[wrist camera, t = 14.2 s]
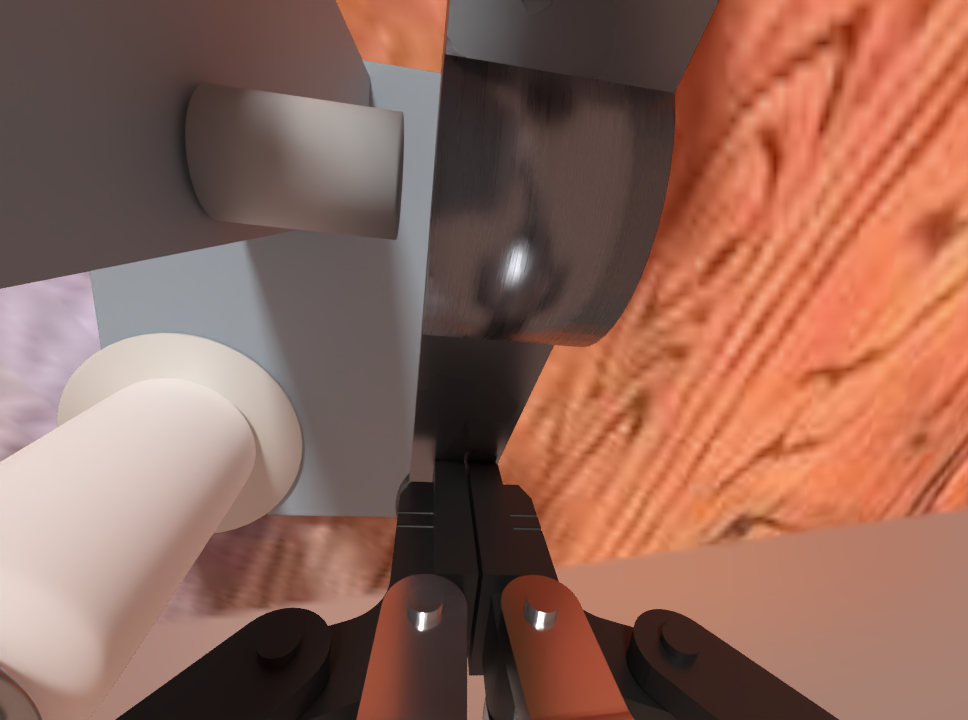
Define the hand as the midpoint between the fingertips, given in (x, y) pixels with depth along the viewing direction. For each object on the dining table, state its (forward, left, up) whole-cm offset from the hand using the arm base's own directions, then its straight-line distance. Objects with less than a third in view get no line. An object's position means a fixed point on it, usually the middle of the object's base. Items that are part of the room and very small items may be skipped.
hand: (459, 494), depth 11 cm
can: (-11, -5, -10) cm, 16 cm away
